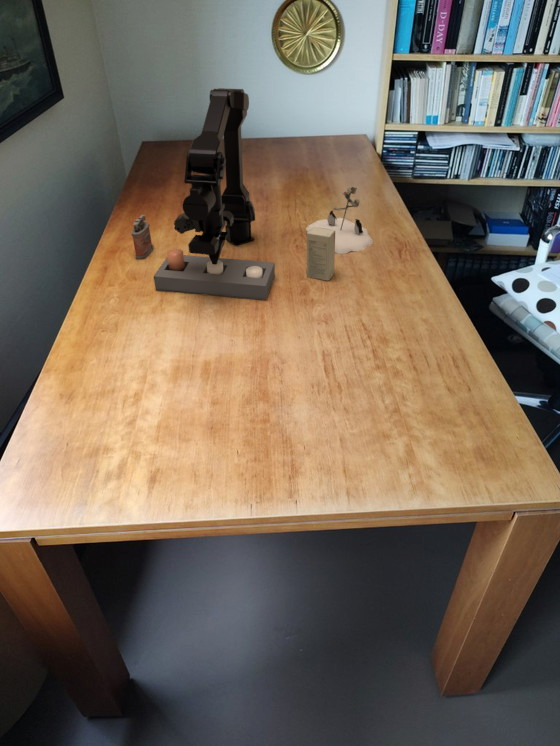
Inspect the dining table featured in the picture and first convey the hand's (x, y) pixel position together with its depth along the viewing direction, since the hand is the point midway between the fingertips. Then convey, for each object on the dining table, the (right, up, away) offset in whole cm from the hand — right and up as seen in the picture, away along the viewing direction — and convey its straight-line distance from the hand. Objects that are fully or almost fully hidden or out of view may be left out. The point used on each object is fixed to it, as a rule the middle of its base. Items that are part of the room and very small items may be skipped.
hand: (214, 263), depth 136 cm
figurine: (+33, +12, +24) cm, 42 cm away
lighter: (-22, +6, +17) cm, 28 cm away
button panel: (0, -4, +3) cm, 6 cm away
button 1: (0, -3, +2) cm, 4 cm away
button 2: (+10, -5, +2) cm, 11 cm away
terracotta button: (-10, 0, +2) cm, 10 cm away
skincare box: (+26, -2, +7) cm, 27 cm away
